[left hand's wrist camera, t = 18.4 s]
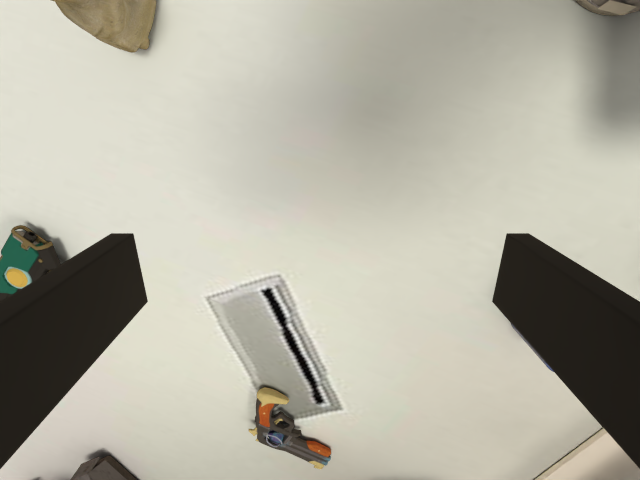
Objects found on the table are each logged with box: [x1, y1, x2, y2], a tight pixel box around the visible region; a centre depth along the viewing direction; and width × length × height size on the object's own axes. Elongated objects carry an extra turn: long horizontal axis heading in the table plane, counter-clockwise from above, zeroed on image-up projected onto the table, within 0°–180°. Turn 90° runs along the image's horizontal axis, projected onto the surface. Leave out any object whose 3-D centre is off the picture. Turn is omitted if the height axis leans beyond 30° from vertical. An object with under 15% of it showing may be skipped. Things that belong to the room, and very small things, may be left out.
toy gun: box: [249, 387, 331, 469], centre depth 58 cm, size 3×19×10 cm
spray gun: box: [0, 225, 61, 302], centre depth 48 cm, size 4×17×15 cm
